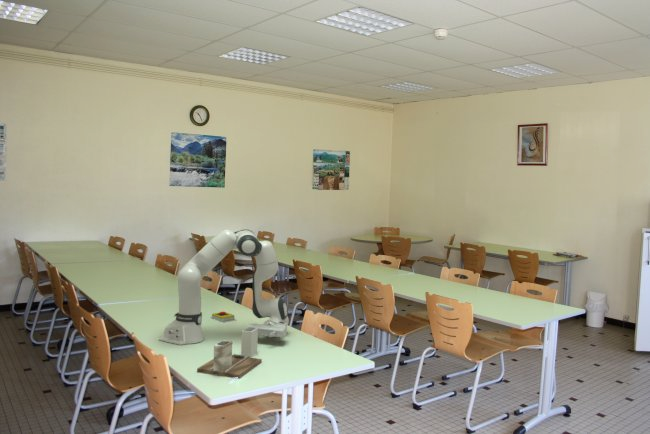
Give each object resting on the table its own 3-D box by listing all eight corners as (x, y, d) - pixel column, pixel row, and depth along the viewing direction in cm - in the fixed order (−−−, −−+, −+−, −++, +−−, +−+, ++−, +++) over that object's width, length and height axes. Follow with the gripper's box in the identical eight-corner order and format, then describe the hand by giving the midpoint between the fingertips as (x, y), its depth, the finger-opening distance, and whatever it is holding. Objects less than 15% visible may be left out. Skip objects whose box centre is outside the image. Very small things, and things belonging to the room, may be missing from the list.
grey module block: (241, 356, 253) (241, 330, 252) (247, 351, 259) (248, 326, 258) (250, 357, 251) (251, 331, 250) (257, 353, 258) (257, 327, 257)
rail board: (197, 371, 230) (197, 342, 229) (222, 356, 251) (222, 329, 250) (239, 378, 224) (240, 348, 223) (261, 362, 244) (262, 334, 244)
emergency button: (222, 309, 328) (237, 313, 317) (222, 316, 328) (237, 321, 317) (209, 311, 321) (224, 316, 310) (209, 318, 321) (224, 323, 311)
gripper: (253, 319, 282) (241, 325, 269) (289, 323, 276) (279, 330, 263) (253, 331, 283) (241, 338, 270) (289, 335, 276) (278, 343, 263)
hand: (260, 334), depth 266 cm, fingers open, 8 cm apart
